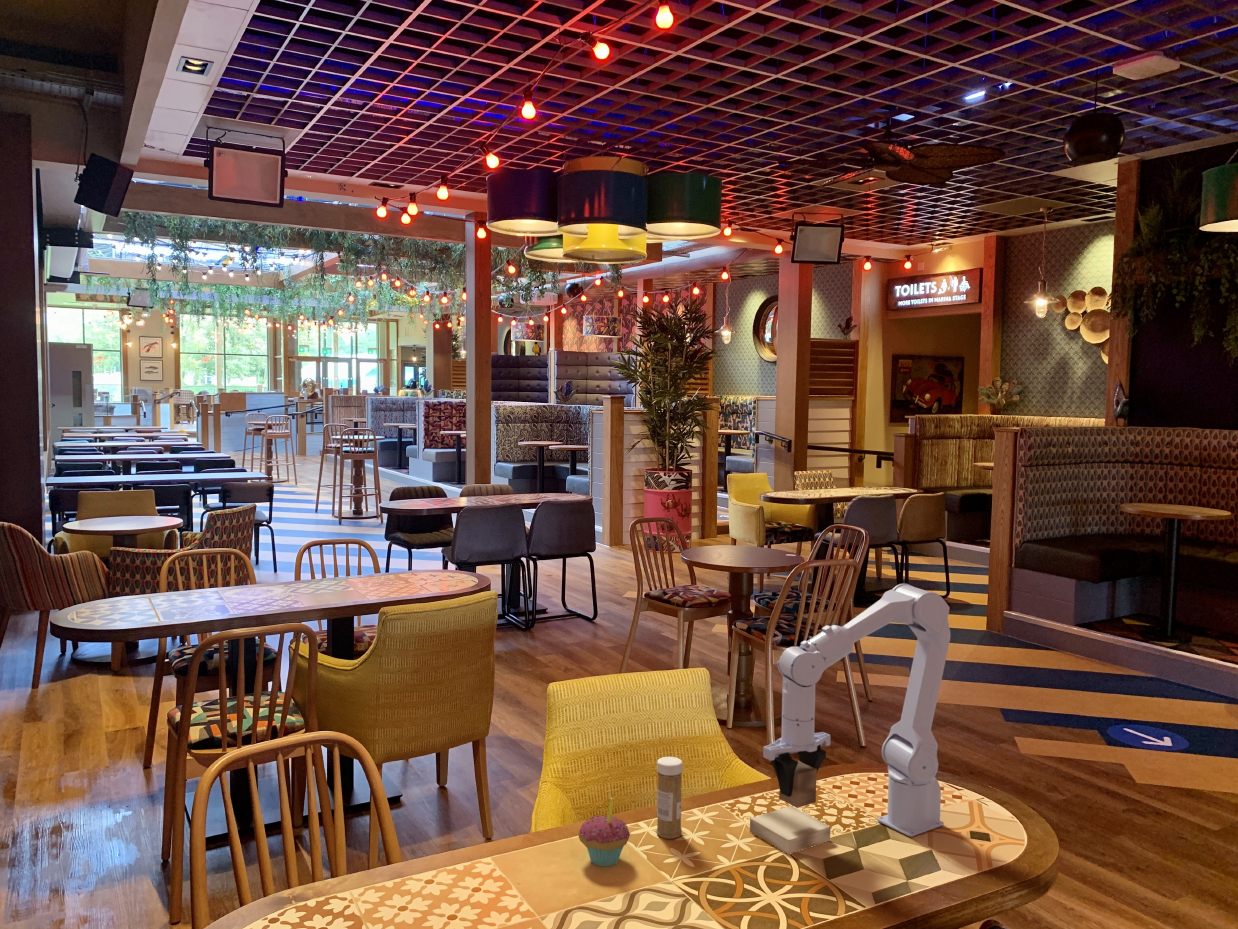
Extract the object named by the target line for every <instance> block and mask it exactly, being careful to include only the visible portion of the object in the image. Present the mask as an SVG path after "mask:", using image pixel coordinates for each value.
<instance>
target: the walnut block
mask: <svg viewBox="0 0 1238 929" xmlns="http://www.w3.org/2000/svg"><path fill="white" fill-rule="evenodd" d="M796 761H797V762H798V764H797V767H796V770H795V773H794V778H793V790H792V795H791V796H790V797H788V796H786V795H784V794H782V793H781V792H780V790H779V792H778V793H779V794H778V795H779V796H778V798H779V799H780V800H781V801H783V802H785V803H787V804H789V805H790V806H792V807H794V808H796V809H798V808H802V807H805V806H808V805H812V804H814V803H817V774H818V772H817V769H815V768H813V767H811V766H809V765H807V764H805V763H802V762H800V761H799V760H796Z"/></svg>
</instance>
